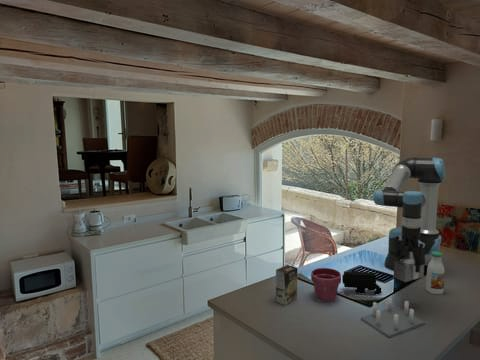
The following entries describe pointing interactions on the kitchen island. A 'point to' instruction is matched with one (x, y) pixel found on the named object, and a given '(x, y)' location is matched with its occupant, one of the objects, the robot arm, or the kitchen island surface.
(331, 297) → the plant pot
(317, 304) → the kitchen island surface
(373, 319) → the tray
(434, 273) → the milk bottle
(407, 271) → the grey block
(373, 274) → the security camera
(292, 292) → the coffee box
